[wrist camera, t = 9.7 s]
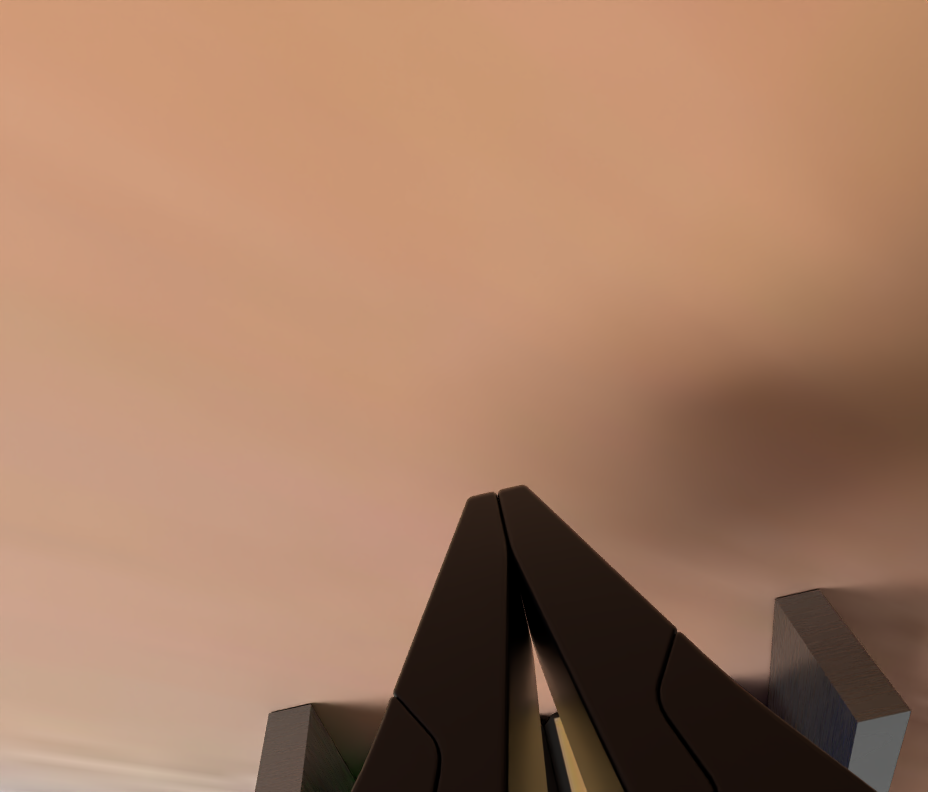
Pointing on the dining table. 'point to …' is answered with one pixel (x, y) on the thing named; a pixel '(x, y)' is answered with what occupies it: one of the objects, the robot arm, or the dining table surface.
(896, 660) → the dining table surface
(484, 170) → the dining table surface
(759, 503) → the dining table surface
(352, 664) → the dining table surface
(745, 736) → the robot arm
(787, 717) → the dock
